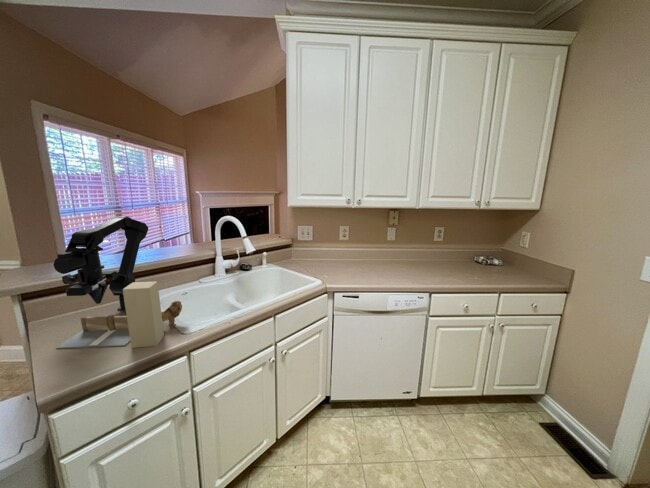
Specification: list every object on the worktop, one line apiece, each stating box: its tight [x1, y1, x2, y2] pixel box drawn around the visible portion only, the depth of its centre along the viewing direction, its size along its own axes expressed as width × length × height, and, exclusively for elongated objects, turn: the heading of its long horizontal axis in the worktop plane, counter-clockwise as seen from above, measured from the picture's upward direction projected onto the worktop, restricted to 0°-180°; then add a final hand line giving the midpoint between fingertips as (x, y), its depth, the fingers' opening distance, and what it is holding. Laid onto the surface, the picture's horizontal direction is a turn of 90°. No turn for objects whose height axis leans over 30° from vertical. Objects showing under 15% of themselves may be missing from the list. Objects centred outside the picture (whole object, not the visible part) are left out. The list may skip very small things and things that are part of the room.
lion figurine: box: [161, 300, 183, 327], centre depth 102 cm, size 15×5×9 cm, turn 138°
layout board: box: [56, 329, 131, 350], centre depth 99 cm, size 18×22×1 cm
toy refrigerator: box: [123, 280, 165, 349], centre depth 92 cm, size 8×7×21 cm
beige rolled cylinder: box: [80, 315, 109, 331], centre depth 99 cm, size 2×9×5 cm, turn 95°
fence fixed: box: [107, 314, 129, 331], centre depth 100 cm, size 2×11×6 cm, turn 95°
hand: (98, 303), depth 104 cm, fingers closed
